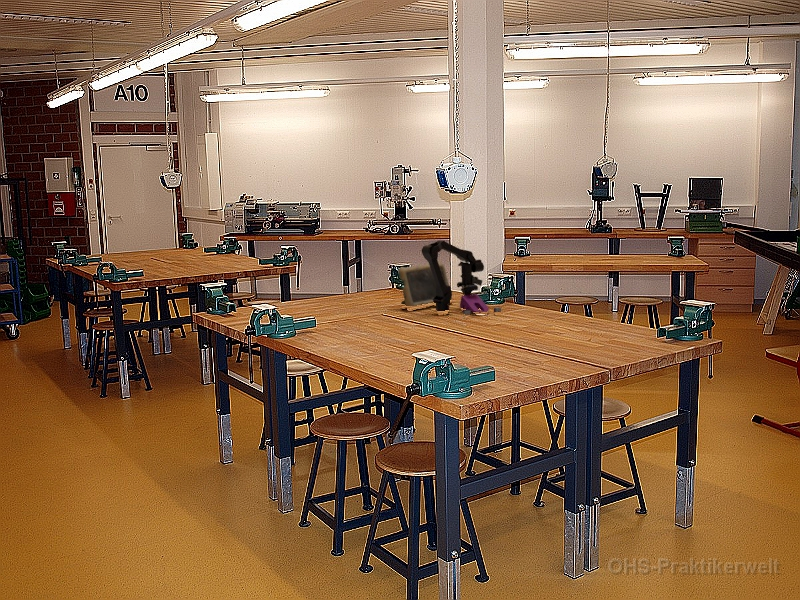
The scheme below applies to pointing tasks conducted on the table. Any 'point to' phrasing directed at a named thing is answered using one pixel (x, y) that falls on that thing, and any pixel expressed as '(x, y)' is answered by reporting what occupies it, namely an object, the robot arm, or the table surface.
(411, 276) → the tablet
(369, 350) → the table surface
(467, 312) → the stop blocks
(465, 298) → the mounting bracket
